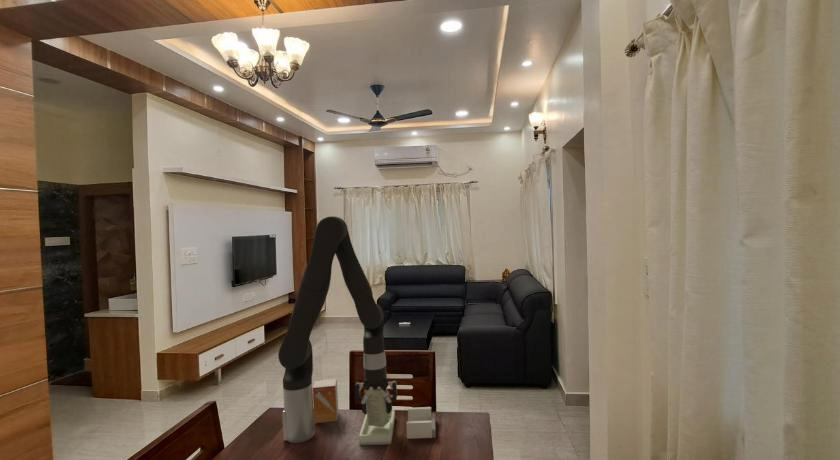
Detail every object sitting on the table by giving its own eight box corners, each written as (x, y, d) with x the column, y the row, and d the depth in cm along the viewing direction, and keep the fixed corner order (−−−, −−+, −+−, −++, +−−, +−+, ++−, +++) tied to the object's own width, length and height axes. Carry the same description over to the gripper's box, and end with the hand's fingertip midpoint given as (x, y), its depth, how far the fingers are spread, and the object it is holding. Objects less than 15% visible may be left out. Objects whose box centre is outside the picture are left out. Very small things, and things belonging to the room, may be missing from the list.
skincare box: (389, 421, 131) (387, 385, 131) (383, 428, 127) (380, 391, 127) (373, 418, 134) (370, 383, 134) (366, 425, 130) (363, 389, 130)
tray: (359, 445, 123) (358, 436, 123) (367, 419, 139) (366, 411, 139) (391, 444, 123) (390, 434, 123) (395, 418, 139) (394, 410, 139)
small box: (314, 424, 137) (312, 387, 137) (316, 415, 144) (314, 380, 143) (337, 421, 138) (335, 385, 138) (338, 412, 145) (337, 378, 144)
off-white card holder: (407, 438, 125) (406, 423, 125) (408, 421, 136) (408, 407, 136) (435, 437, 125) (435, 422, 125) (435, 420, 136) (434, 406, 135)
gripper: (351, 369, 127) (354, 419, 127) (395, 367, 126) (397, 417, 127) (355, 361, 134) (358, 408, 134) (397, 359, 134) (399, 406, 134)
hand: (377, 412), depth 131 cm, fingers closed on skincare box, 7 cm apart
